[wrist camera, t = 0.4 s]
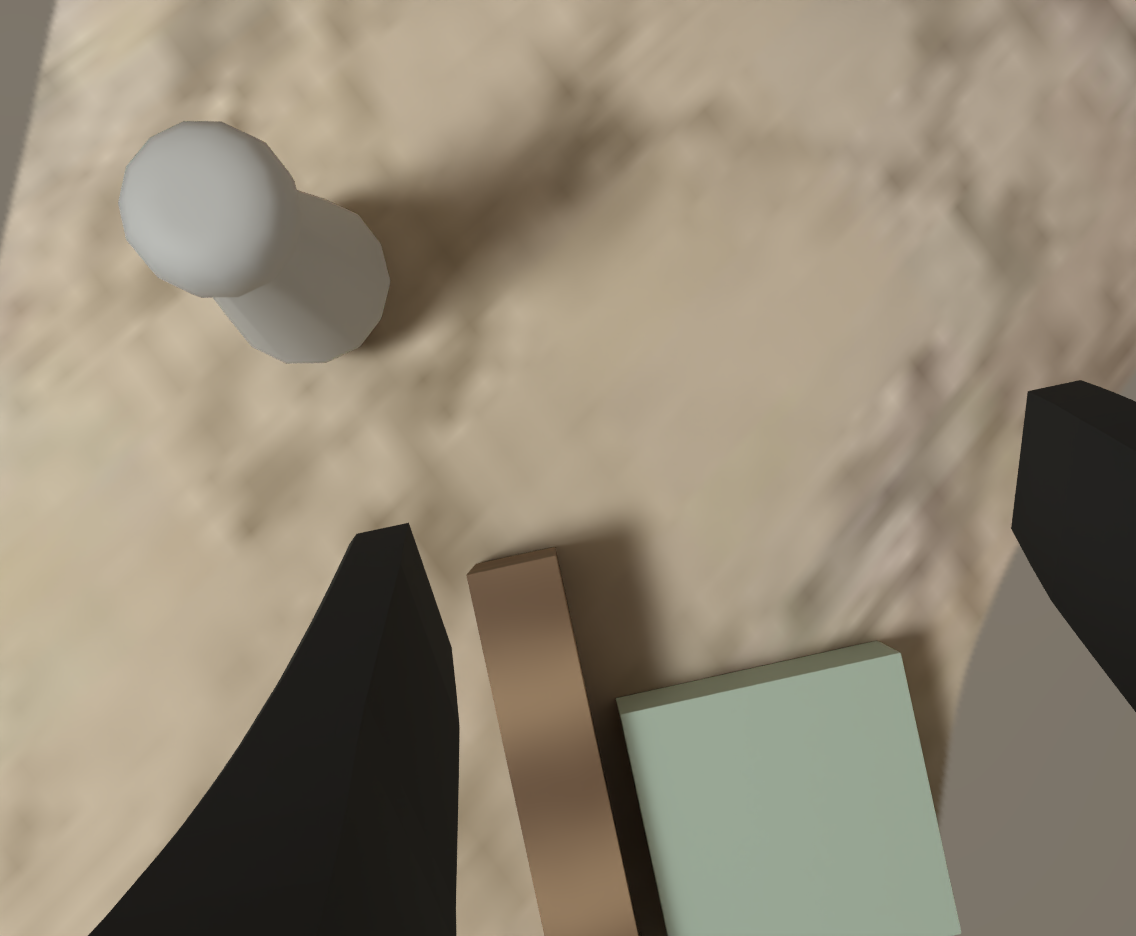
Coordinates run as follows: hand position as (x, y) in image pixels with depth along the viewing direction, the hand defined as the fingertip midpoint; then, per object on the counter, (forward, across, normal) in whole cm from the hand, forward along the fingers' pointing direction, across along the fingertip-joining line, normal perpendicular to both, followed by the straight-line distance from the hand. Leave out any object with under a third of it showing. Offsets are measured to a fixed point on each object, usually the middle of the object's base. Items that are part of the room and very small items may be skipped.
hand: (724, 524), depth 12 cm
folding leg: (+15, +4, +23) cm, 27 cm away
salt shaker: (+26, +9, +7) cm, 29 cm away
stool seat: (+13, -3, +25) cm, 29 cm away
